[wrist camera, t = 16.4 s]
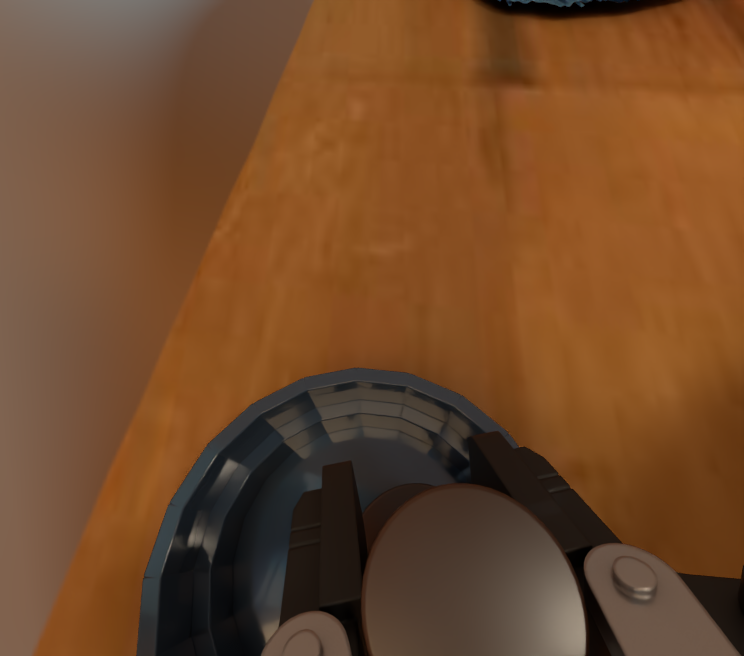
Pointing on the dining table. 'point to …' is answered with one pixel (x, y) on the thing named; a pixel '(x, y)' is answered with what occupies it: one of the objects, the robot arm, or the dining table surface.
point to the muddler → (466, 577)
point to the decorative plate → (561, 2)
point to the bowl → (288, 498)
